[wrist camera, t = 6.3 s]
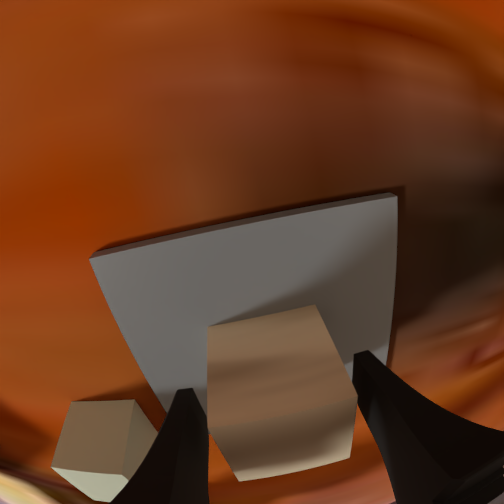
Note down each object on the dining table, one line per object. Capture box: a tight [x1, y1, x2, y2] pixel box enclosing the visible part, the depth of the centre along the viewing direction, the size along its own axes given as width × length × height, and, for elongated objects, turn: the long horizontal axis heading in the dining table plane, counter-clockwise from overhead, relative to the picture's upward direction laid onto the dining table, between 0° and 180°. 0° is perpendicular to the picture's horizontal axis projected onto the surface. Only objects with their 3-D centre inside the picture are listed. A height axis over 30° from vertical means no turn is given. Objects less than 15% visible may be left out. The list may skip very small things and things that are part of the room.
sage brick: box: [51, 399, 158, 502], centre depth 14 cm, size 4×4×5 cm
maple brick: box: [207, 305, 358, 481], centre depth 11 cm, size 4×4×5 cm
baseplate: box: [89, 192, 398, 434], centre depth 14 cm, size 12×12×1 cm
